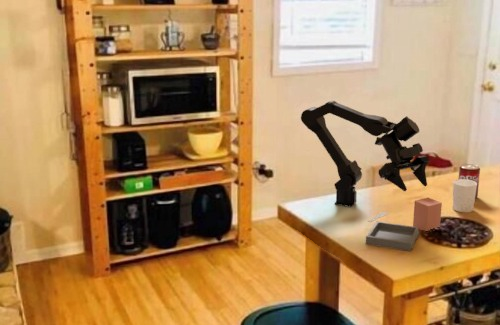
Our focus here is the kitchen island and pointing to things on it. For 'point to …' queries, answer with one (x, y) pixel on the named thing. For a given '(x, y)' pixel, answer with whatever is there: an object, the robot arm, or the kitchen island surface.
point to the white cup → (464, 195)
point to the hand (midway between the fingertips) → (416, 188)
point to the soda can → (470, 174)
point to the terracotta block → (427, 214)
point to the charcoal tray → (392, 236)
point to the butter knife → (378, 216)
